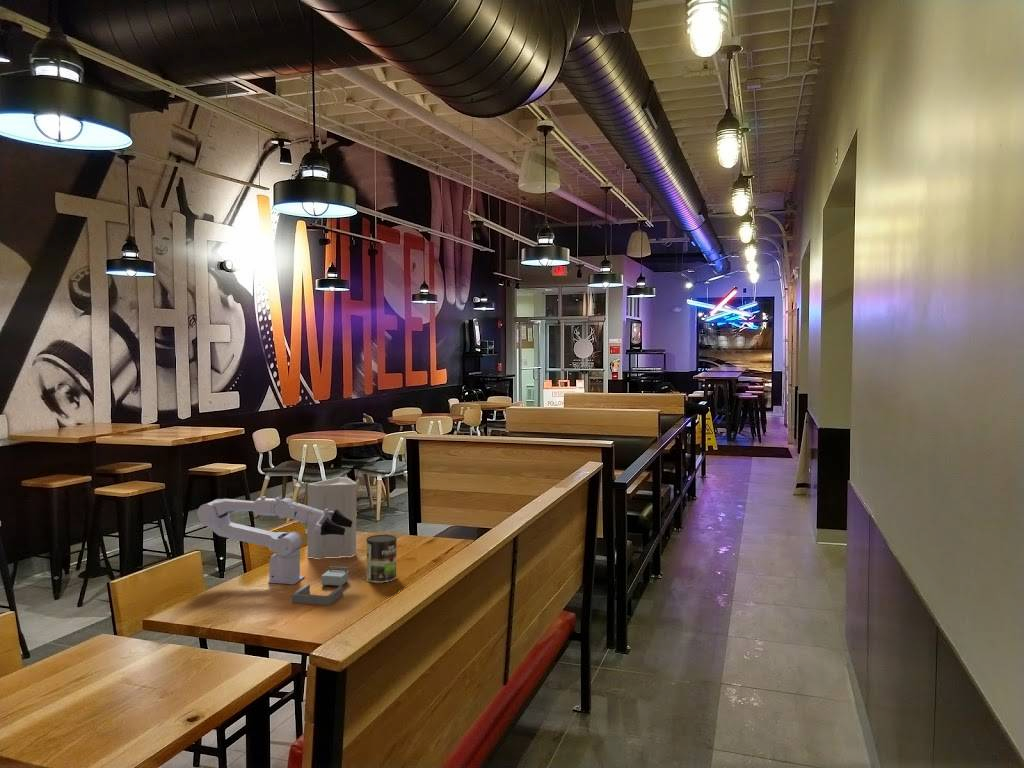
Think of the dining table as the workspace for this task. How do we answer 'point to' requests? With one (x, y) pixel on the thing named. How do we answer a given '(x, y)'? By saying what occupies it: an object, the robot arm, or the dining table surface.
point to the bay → (315, 596)
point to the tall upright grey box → (332, 497)
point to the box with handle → (334, 576)
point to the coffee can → (381, 558)
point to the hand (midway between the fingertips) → (348, 528)
